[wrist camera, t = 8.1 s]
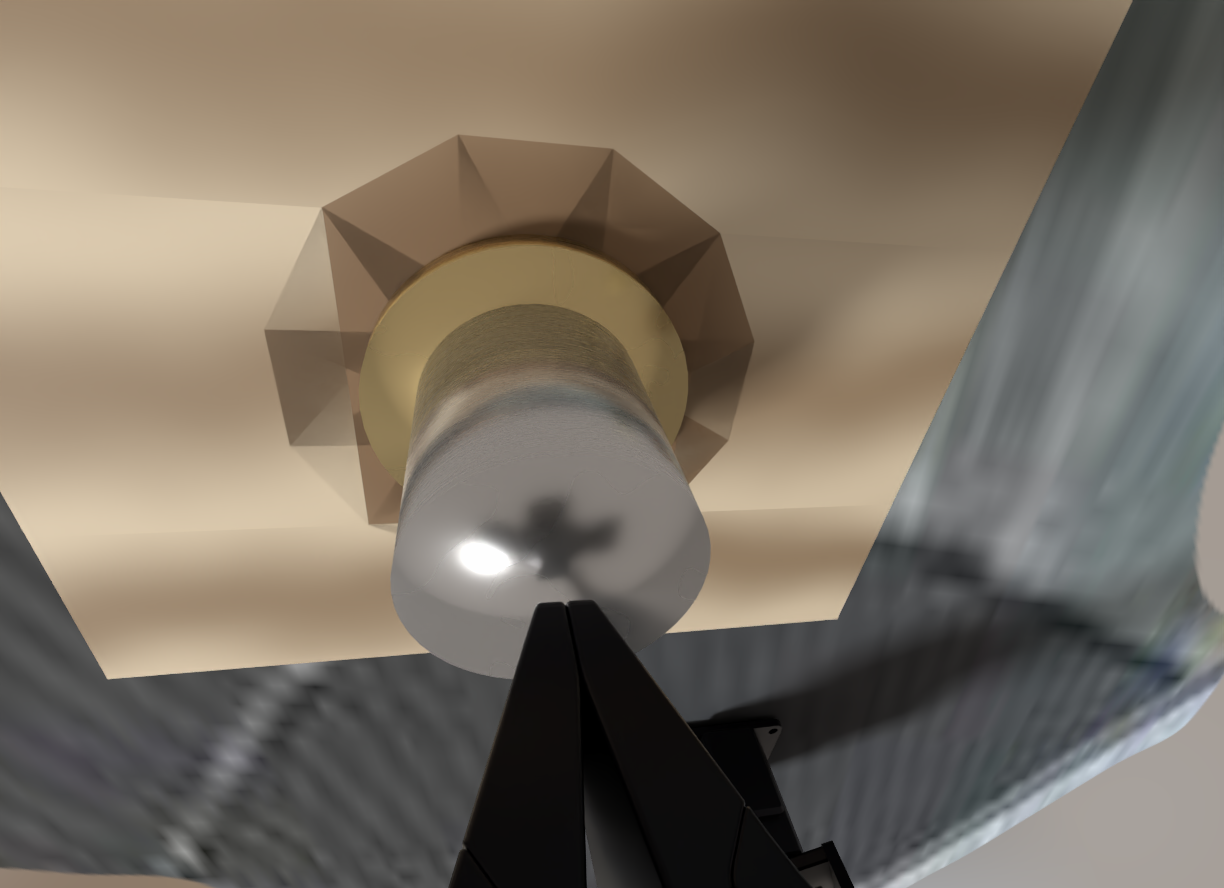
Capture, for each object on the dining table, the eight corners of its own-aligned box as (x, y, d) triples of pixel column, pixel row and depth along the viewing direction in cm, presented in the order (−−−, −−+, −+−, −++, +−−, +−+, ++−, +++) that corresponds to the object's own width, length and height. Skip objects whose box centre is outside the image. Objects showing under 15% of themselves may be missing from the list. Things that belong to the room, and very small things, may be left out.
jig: (789, 539, 25) (837, 618, 21) (166, 570, 20) (107, 678, 17) (997, -22, 14) (1147, -31, 11) (-167, -229, 10) (-477, -343, 7)
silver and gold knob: (627, 430, 20) (725, 695, 12) (395, 432, 18) (341, 736, 11) (661, 200, 16) (839, 380, 8) (369, 178, 14) (253, 375, 7)
